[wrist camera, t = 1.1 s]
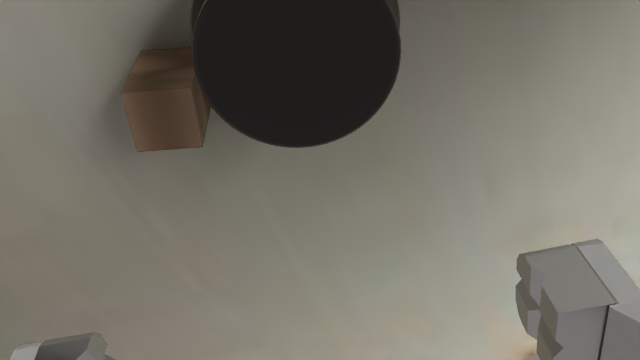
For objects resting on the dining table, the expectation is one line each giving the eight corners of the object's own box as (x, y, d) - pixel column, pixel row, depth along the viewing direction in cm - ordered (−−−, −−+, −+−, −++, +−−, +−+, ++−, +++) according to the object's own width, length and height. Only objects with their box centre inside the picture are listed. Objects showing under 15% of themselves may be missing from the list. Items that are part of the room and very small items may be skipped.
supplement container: (388, 40, 39) (424, 134, 30) (235, 75, 40) (221, 177, 30) (362, -134, 33) (396, -88, 23) (181, -89, 34) (142, -27, 24)
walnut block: (201, 46, 39) (190, 87, 34) (211, 100, 41) (202, 146, 36) (140, 50, 39) (120, 93, 34) (154, 104, 41) (137, 151, 36)
